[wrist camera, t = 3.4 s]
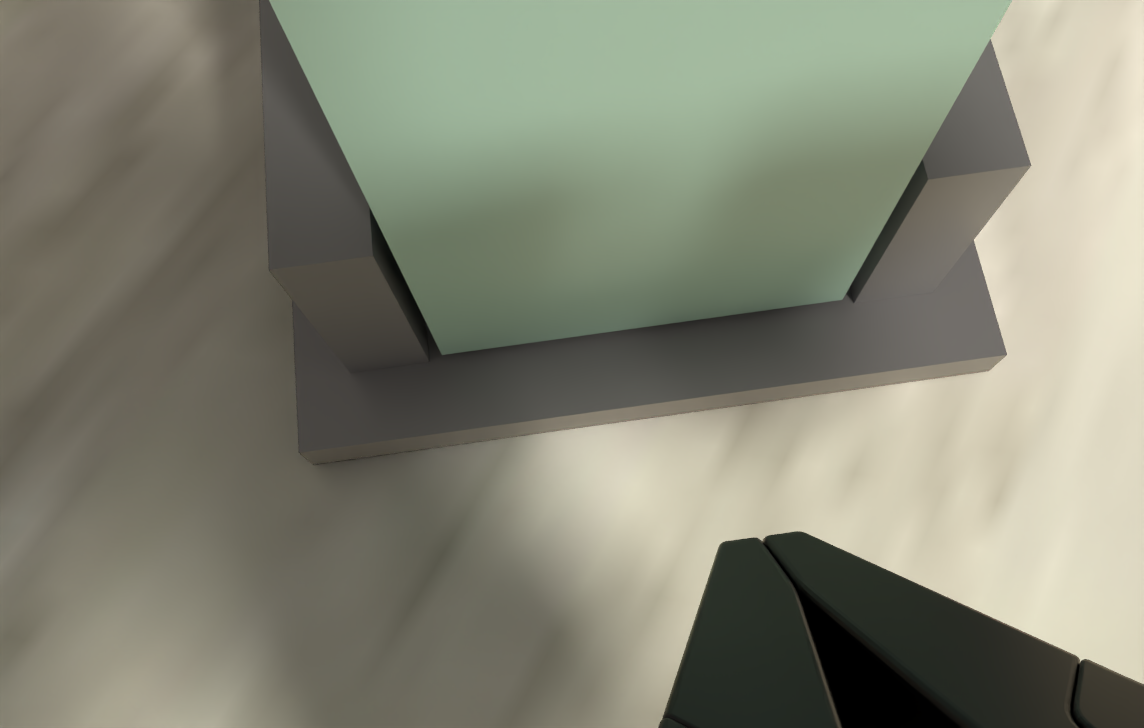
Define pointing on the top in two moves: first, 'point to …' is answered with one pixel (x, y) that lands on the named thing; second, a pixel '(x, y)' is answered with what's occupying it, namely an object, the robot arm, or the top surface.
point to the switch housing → (627, 357)
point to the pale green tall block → (630, 147)
